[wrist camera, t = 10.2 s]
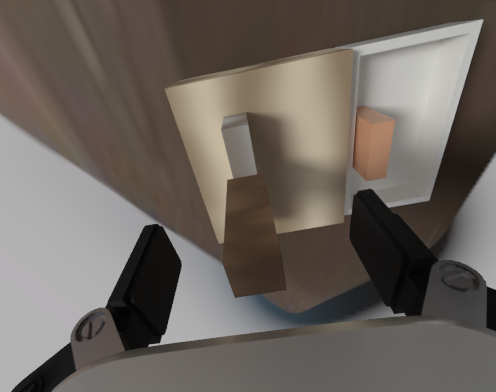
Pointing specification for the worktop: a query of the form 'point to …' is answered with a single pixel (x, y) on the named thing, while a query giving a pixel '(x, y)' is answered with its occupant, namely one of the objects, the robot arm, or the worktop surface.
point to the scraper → (248, 219)
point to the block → (372, 143)
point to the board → (274, 134)
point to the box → (410, 104)
